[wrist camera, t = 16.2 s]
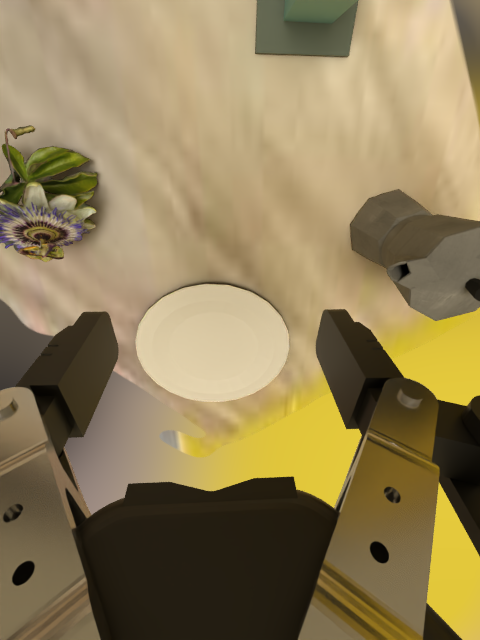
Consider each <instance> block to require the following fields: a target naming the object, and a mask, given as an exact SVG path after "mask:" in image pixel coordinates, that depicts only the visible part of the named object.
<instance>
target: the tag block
mask: <svg viewBox="0 0 480 640" xmlns="http://www.w3.org/2000/svg"><path fill="white" fill-rule="evenodd" d="M357 1H358V0H285V8H284V20H283V21H295V22H312V23H330V24H332V23H333V22H334V21H335V20H337V19H338V18H339V17H340V16H341V15H342V14H343V13H344V12H345V11H347V10H348V9H349V8H350V7H351V6H352V5H353V4H354V3H355V2H357Z"/></svg>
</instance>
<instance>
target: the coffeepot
mask: <svg viewBox="0 0 480 640" xmlns="http://www.w3.org/2000/svg"><path fill="white" fill-rule="evenodd" d="M350 226H351V241H352V250H354V251H355V252H357V253H359V254H361V255H362V256H364V257H366V258H368V259H369V260H371V261H373V262H375V263H377V264H379V265H381V266H383V267H385V268H387V274H388V275H389V277H390V278H391V280H393V282H394V284H395V285H396V287H397V288H398V290H399V291H400V293H401V294H402V296H403V297H404V299H405V300H406V302H407V303H408V305H409V306H410V307H411V308H413V309H415V310H417V311H418V312H420V313H422V314H424V315H426V316H428V317H429V318H431V319H433V320H435V321H438V320H442V319H446V318H450V317H453V316H457V315H461V314H465V313H469V312H473V311H475V310H477V309H478V308H479V307H480V221H474V220H468V219H462V218H456V217H450V216H444V215H438V214H437V215H432V214H431V213H430V212H428V211H427V210H426V209H425V208H424V207H423V206H421V205H420V204H419V203H418V202H416V201H415V200H413V199H412V198H411V197H409V196H408V195H406V194H405V193H404V192H402V191H401V190H399V189H398V190H395V191H391V192H387V193H383V194H380V195H378V196H376V197H373V198H369V200H368V201H367V202H366V203H365V204H364V206H363V207H362V208H361V209H360V210H359V212H358V213H357V215H356V217H355V218H354V220H353V222H352V223H351V224H350Z"/></svg>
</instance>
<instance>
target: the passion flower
mask: <svg viewBox="0 0 480 640" xmlns="http://www.w3.org/2000/svg"><path fill="white" fill-rule="evenodd" d="M8 131H10V133H11V134H12V135H13V137H14V138H15V139H17V137H18V136H20V135H23V134H24V133H30V132H34V131H35V128H34V127H33V126H26V127H19V128H17V129H6V131H5V140H6V144H3V145H2V150H3V153H4V155H5V157H6V159H7V161H8V163H9V167H10V170H11V175H10V176H9V177H8V178H7V180H6V181H5V182H4V184H3V185H2V186H1V187H0V192H2V191H3V193H2V195H0V243H5V245H6V246H5V248H8V247H9V246H11V245H14V248H15V250H16V251H17V252H18V253H20V254H22V255H25V256H27V257H29V258H31V259H40V260H42V261H44V262H47V261H50V260H52V259H53V258H54V259H63V258H64V257H63V256H64V253H63V250H62V248H60V247H59V246H63V245H66V246H67V245H69V244H73V243H72V241H73V240H75V241H80V240H82V233H88V231H87V230H88V229H93V228H95V227H96V225H95V223H94V222H93V221H92V220H91V219H88V218H87V217H89V216H91V215H92V214H94V213H96V212H97V211H96V209H95V208H93V207H91V206H90V205H86V204H85V202H86V201H88V200H89V199H91V198H92V196H93V195H94V191H90V192H87V191H89V190H91V189H92V188H95V186H96V185H97V178H96V176H97V172H94V173H92V172H83V171H82V172H78V173H76V174H74V175H70V176H66V177H65V178H64V179H62V180H54V179H52V178H50V177H53V176H55V175H58V174H59V173H63V172H64V171H67V170H68V169H71V168H72V167H79V166H81V165H83V164H85V163H86V162H88V161H89V160H90V159H89V158H86V157H84V156H82V155H81V154H79V153H77V152H75V151H73V150H69V149H64V148H58V147H54V146H52V147H45V148H40V149H38V150H37V151H35V152H34V153H33V154H32V155H31V157H30V158H29V159H28V160H27V161H26V162H25V163H24V157H23V156H22V155H21V153H20V152H19V151H18V150H17V149H15V148H14V147H12V146H10V145H8V139H7V132H8ZM20 178H21V182H20ZM44 191H46V192H49V193H52V194H49V193H44ZM85 192H86V193H85ZM54 194H57V195H54ZM22 196H23V198H22V203H23V206H21V205H17V204H18V203H19V201H20V199H21V197H22ZM55 249H56V250H55Z"/></svg>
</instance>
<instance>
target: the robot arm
mask: <svg viewBox="0 0 480 640" xmlns="http://www.w3.org/2000/svg"><path fill="white" fill-rule="evenodd" d="M316 354H317V358H318V360H319V363H320V365H321V367H322V370H323V372H324V375H325V377H326V380H327V382H328V385H329V387H330V390H331V392H332V394H333V397H334V399H335V402H336V404H337V407H338V409H339V412H340V414H341V417H342V419H343V422H344V424H345V427H346V429H359V430H360V432H361V434H362V436H361V439H360V441H359V444H358V447H357V449H356V452H355V455H354V457H353V460H352V463H351V465H350V468H349V471H348V474H347V476H346V479H345V482H344V485H343V487H342V490H341V492H340V495H339V497H338V500H337V502H336V505H335V507H334V508H333V507H332V506H330V505H329V504H327V503H326V502H324V501H322V500H321V499H319V498H317V497H315V496H313V495H311V494H309V493H306V492H303V491H300V490H296V487H295V482H294V477H277V478H276V477H275V478H254V479H251V480H248V481H244V482H241V483H238V484H235V485H232V486H229V487H226V488H223V489H220V490H217V491H205V490H201V489H197V488H193V487H188V486H184V485H180V484H176V483H172V482H159V483H136V484H128V487H127V491H126V495H125V498H123V499H120V500H117V501H115V502H113V503H111V504H109V505H107V506H105V507H103V508H102V509H100V510H98V511H97V512H95V513H94V514H93V515H91V513H90V511H89V509H88V507H87V505H86V503H85V501H84V498H83V495H82V493H81V490H80V487H79V485H78V482H77V479H76V476H75V474H74V471H73V468H72V465H71V463H70V460H69V457H68V455H67V452H66V450H65V448H64V446H65V444H66V441H67V440H68V438H71V437H84V434H85V432H86V430H87V428H88V425H89V423H90V421H91V419H92V416H93V414H94V412H95V409H96V407H97V405H98V403H99V400H100V398H101V396H102V394H103V391H104V389H105V387H106V384H107V382H108V380H109V378H110V375H111V373H112V371H113V369H114V366H115V364H116V362H117V359H118V343H117V340H116V337H115V333H114V330H113V326H112V323H111V319H110V316H109V314H108V313H107V312H83V313H82V314H81V316H80V317H79V318H78V320H77V321H76V322H75V324H74V325H73V326H68V327H66V328H65V329H63V330H62V331H61V332H59V333H58V334H56V335H55V336H54V338H53V339H52V340H51V342H50V343H49V344H48V347H46V348H45V349H44V351H43V352H42V353H41V356H39V357H38V358H37V359H36V361H35V362H34V363H33V364H32V366H31V367H30V368H29V370H28V371H27V372H26V373H25V375H24V376H23V377H22V378H21V380H20V381H19V382H18V384H17V385H16V386H15V387H13V388H8V389H4V390H2V391H0V640H462V639H461V638H460V637H459V636H458V635H457V634H456V633H455V632H454V631H453V630H452V629H451V628H450V627H449V625H447V623H446V622H445V621H444V620H443V619H442V618H441V617H440V616H439V615H438V614H437V613H436V612H435V611H434V610H433V609H432V608H431V607H430V606H429V605H428V604H427V603H426V601H427V592H428V581H429V572H430V562H431V553H432V543H433V533H434V523H435V514H436V504H437V494H438V484H439V482H440V484H441V486H442V488H443V490H444V492H445V493H446V495H447V497H448V499H449V501H450V503H451V504H452V506H453V508H454V510H455V512H456V513H457V515H458V517H459V519H460V521H461V523H462V524H463V526H464V528H465V530H466V532H467V534H468V535H469V537H470V539H471V541H472V543H473V545H474V547H475V548H476V550H477V552H478V554H479V556H480V396H476V397H474V398H473V399H472V400H471V402H470V403H469V404H468V406H463V405H459V404H454V403H450V402H445V401H441V400H437V399H436V397H435V395H434V394H433V393H432V392H431V391H430V390H429V389H427V388H426V387H425V386H423V385H422V384H420V383H418V382H416V381H413V380H411V379H407V378H404V377H403V375H402V374H401V373H400V371H399V370H398V368H397V367H396V365H395V364H394V363H393V361H392V360H391V358H390V357H389V356H388V354H387V353H386V351H385V350H383V347H382V346H381V344H380V343H379V342H377V339H376V337H375V336H374V335H373V333H372V332H371V330H369V329H368V328H367V327H365V326H364V325H362V324H361V323H360V322H354V321H353V319H352V318H351V316H350V315H349V313H348V312H347V311H346V310H345V309H334V310H324V311H323V314H322V317H321V322H320V327H319V331H318V336H317V340H316Z"/></svg>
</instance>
